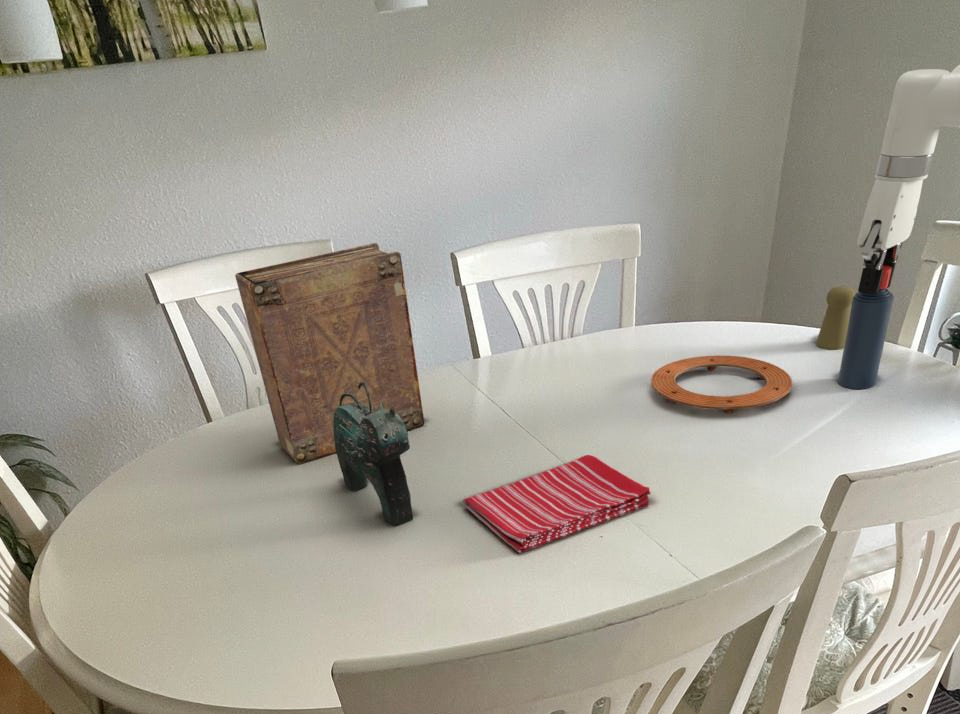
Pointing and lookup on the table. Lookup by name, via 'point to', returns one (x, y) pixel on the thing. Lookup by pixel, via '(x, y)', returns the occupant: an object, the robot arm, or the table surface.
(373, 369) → the book
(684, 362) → the ring
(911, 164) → the robot arm
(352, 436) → the dark green carved figure
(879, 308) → the bottle
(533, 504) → the dish towel
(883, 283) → the cap
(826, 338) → the olive pawn figure
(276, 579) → the table surface
